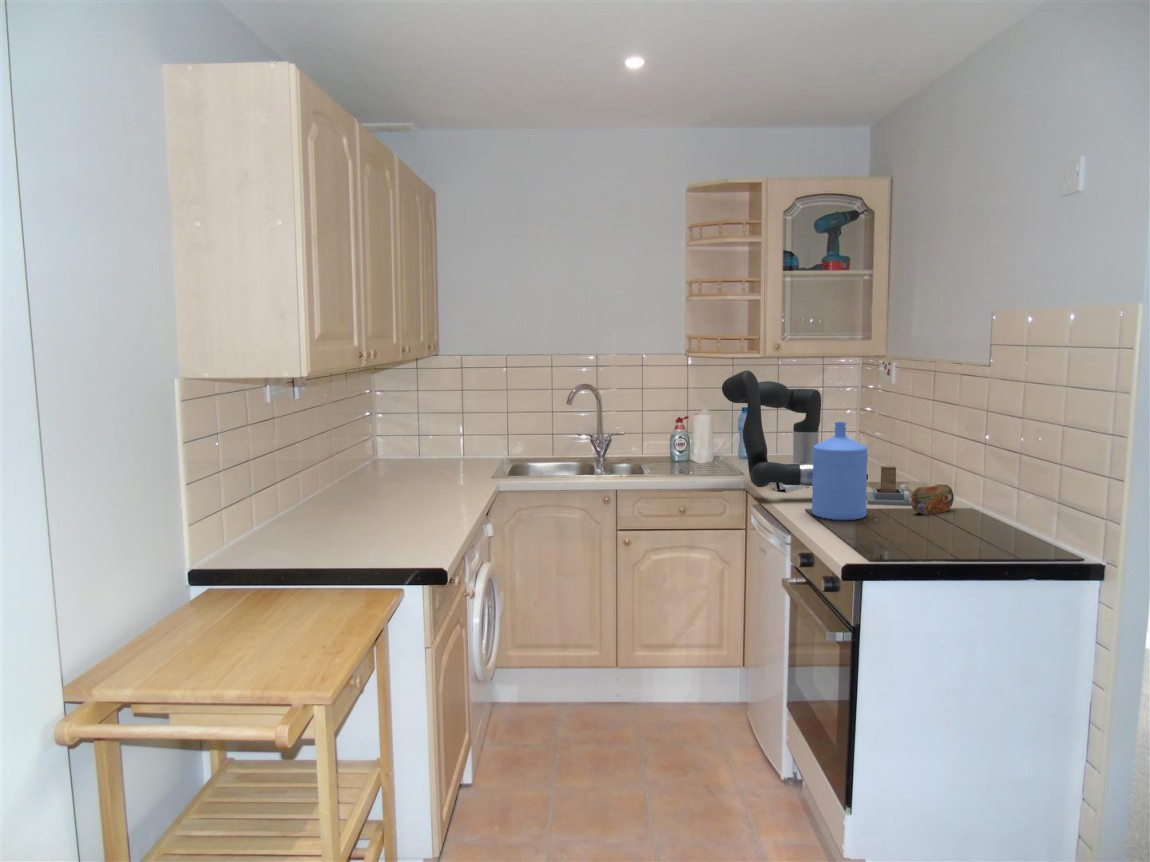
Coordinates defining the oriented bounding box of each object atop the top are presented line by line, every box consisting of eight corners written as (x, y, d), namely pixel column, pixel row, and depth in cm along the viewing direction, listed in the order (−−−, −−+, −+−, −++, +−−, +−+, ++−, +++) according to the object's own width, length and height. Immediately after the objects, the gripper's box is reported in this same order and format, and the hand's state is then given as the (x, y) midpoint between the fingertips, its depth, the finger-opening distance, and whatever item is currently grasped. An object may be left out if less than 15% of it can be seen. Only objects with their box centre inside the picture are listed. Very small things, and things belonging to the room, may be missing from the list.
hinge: (786, 492, 276) (778, 464, 278) (775, 495, 280) (767, 467, 281) (814, 486, 287) (806, 459, 288) (803, 488, 291) (796, 462, 292)
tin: (917, 516, 239) (917, 488, 238) (908, 514, 242) (909, 486, 241) (954, 510, 245) (955, 483, 244) (945, 508, 248) (946, 481, 247)
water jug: (854, 523, 231) (856, 427, 228) (802, 516, 241) (804, 423, 238) (874, 513, 243) (876, 421, 240) (824, 507, 253) (825, 418, 250)
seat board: (865, 494, 270) (865, 483, 270) (906, 496, 267) (907, 484, 266) (868, 504, 256) (868, 491, 256) (912, 505, 253) (912, 493, 252)
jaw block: (880, 495, 264) (881, 465, 263) (893, 495, 263) (894, 465, 262) (882, 498, 260) (882, 467, 259) (895, 498, 259) (896, 467, 258)
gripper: (817, 466, 256) (870, 466, 254) (809, 459, 270) (859, 459, 268) (817, 490, 256) (869, 490, 255) (809, 481, 270) (858, 481, 269)
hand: (864, 474), depth 261 cm, fingers open, 8 cm apart
